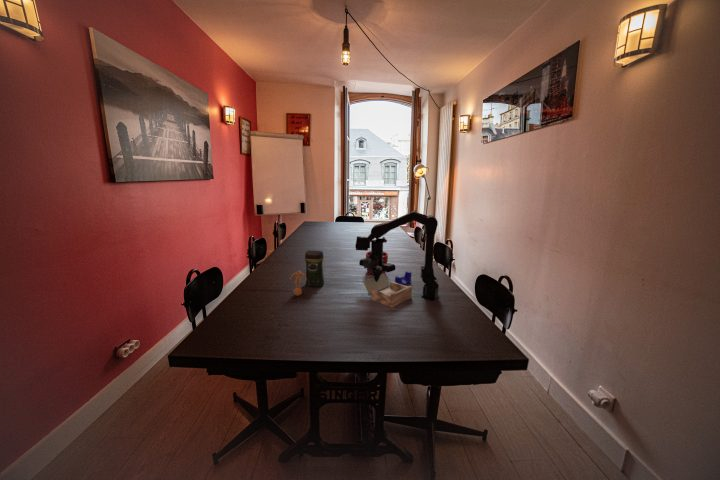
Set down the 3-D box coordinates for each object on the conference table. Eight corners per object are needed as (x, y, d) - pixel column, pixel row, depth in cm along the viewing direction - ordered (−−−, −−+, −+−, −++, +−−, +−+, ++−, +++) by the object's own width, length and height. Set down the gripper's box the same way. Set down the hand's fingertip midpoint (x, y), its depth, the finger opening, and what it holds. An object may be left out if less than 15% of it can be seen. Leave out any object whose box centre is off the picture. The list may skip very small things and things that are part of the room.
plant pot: (361, 270, 181) (362, 251, 179) (380, 268, 187) (381, 249, 184) (371, 277, 170) (372, 257, 167) (391, 274, 175) (392, 255, 173)
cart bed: (411, 297, 143) (412, 286, 142) (391, 307, 132) (392, 295, 131) (390, 290, 151) (391, 279, 150) (370, 299, 140) (371, 287, 139)
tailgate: (390, 286, 151) (384, 273, 153) (370, 294, 140) (363, 280, 142) (388, 287, 152) (382, 274, 154) (368, 296, 141) (361, 281, 143)
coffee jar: (325, 282, 160) (325, 249, 156) (322, 287, 153) (321, 253, 149) (307, 281, 161) (307, 248, 157) (303, 286, 154) (303, 252, 150)
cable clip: (403, 280, 166) (404, 270, 165) (410, 282, 164) (411, 272, 162) (392, 286, 157) (392, 276, 156) (399, 288, 154) (400, 277, 153)
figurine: (288, 296, 141) (287, 272, 138) (291, 291, 147) (290, 268, 144) (305, 297, 141) (305, 273, 138) (307, 292, 147) (307, 269, 144)
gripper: (351, 250, 144) (351, 281, 147) (382, 257, 131) (381, 290, 134) (366, 247, 152) (366, 276, 155) (396, 252, 140) (395, 284, 143)
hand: (376, 281), depth 146 cm, fingers closed, pressing on tailgate
